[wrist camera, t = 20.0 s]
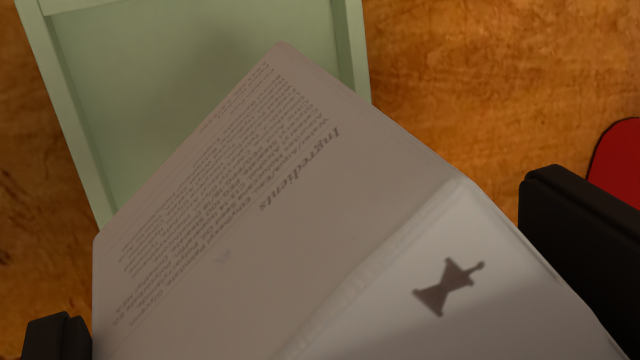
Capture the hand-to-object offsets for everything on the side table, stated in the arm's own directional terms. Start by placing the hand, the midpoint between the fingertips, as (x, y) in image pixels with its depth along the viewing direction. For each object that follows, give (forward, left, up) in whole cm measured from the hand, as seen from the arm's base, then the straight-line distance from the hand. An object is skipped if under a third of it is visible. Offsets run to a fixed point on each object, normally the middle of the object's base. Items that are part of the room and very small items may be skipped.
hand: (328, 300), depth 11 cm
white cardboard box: (0, 0, -4) cm, 4 cm away
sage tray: (0, 0, -12) cm, 12 cm away
